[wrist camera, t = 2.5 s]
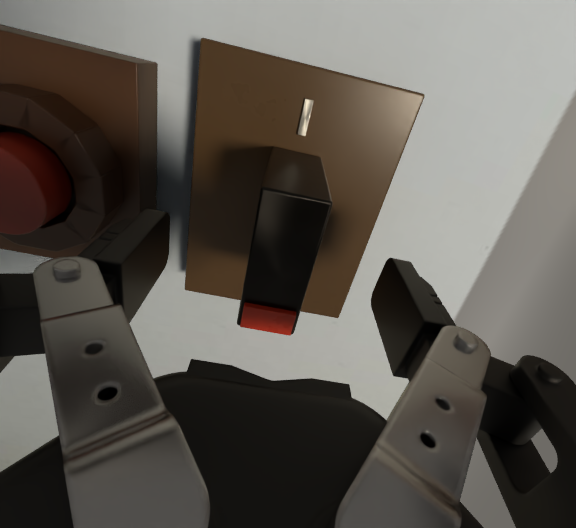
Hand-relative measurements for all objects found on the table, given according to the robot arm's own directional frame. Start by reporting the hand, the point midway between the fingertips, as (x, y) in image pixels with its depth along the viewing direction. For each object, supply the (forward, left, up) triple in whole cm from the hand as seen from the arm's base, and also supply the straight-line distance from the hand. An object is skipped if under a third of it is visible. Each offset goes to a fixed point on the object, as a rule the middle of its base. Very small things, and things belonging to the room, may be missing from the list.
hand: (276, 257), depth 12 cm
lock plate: (0, 0, -6) cm, 6 cm away
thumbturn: (0, 0, -4) cm, 4 cm away
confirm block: (+4, -10, -6) cm, 12 cm away
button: (+4, -10, -3) cm, 11 cm away
